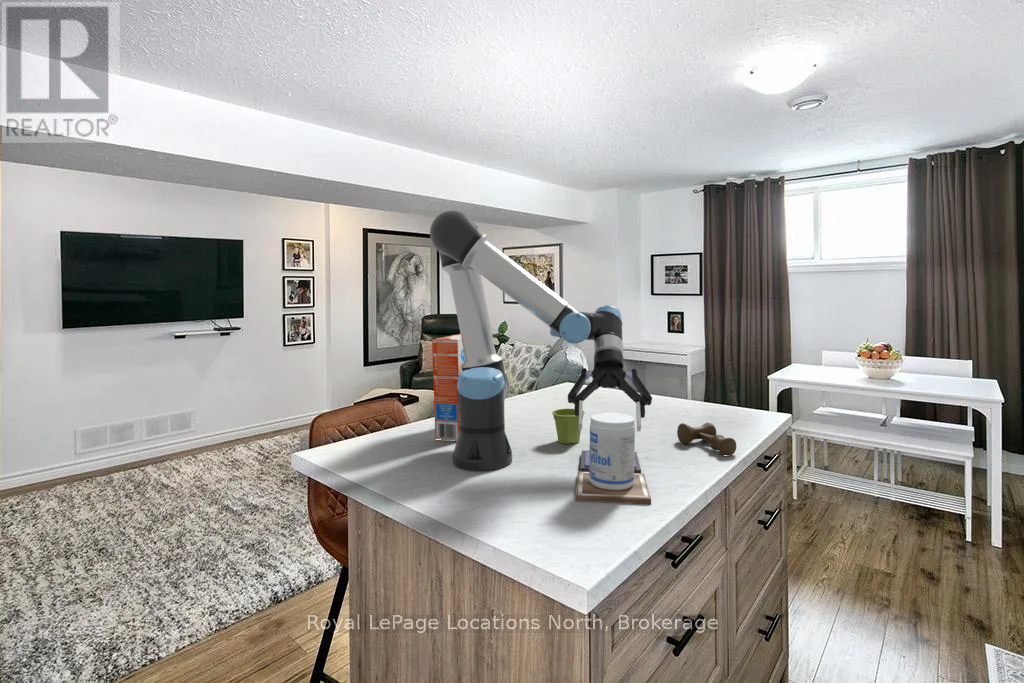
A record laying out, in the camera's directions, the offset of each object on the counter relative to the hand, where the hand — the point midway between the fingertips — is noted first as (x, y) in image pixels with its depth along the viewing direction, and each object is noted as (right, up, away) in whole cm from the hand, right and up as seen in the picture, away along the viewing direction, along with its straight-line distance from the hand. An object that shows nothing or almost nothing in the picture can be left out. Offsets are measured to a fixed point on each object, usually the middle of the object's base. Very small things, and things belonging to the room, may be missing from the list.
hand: (609, 427), depth 122 cm
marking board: (-1, -12, -10) cm, 15 cm away
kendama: (+30, -9, +20) cm, 37 cm away
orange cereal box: (-39, -8, +41) cm, 57 cm away
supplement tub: (-1, -11, -10) cm, 15 cm away
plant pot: (-7, -9, +27) cm, 29 cm away
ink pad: (+1, -10, +6) cm, 12 cm away
